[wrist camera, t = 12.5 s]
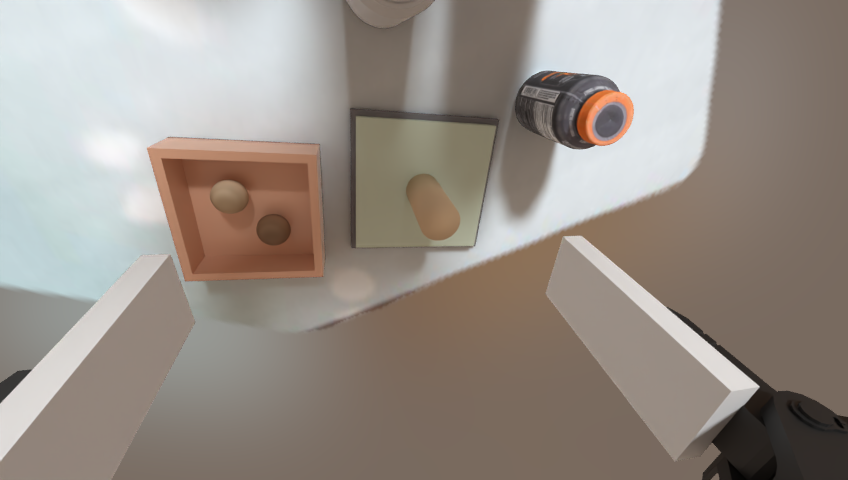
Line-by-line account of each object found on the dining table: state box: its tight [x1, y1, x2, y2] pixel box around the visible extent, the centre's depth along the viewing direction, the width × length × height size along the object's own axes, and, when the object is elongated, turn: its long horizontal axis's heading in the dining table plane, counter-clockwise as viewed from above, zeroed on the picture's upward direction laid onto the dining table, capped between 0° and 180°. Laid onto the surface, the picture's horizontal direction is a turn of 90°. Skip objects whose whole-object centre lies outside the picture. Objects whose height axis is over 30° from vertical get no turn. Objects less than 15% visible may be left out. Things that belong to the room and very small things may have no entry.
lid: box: [356, 116, 496, 248], centre depth 33 cm, size 14×14×9 cm
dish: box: [147, 137, 325, 281], centre depth 33 cm, size 13×13×4 cm
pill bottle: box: [515, 71, 634, 149], centre depth 31 cm, size 6×6×11 cm
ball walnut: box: [256, 214, 291, 246], centre depth 34 cm, size 3×3×3 cm
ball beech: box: [210, 180, 249, 214], centre depth 32 cm, size 3×3×3 cm
